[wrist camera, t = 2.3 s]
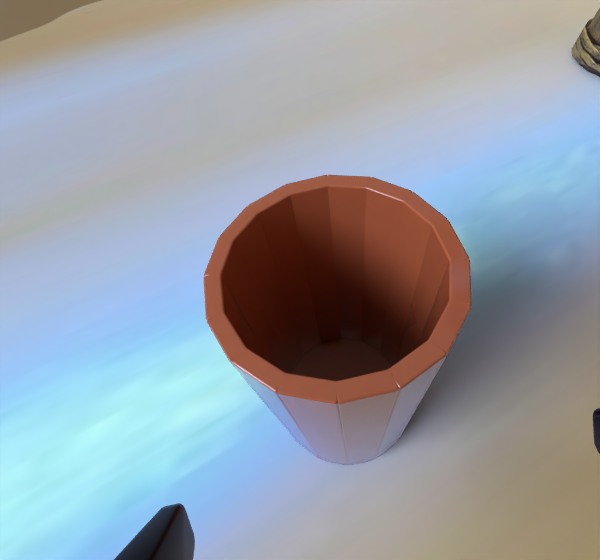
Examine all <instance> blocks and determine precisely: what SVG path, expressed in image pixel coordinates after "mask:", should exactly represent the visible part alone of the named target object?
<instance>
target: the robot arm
mask: <svg viewBox="0 0 600 560" xmlns="http://www.w3.org/2000/svg"><path fill="white" fill-rule="evenodd" d="M593 428H594V443H595V446H596V448H597V451H598V452H599V454H600V408H599V409H596V410H595V411H594V413H593ZM194 546H195V540H194V533H193V530H192V527H191V524H190V522H189V519H188V516H187V513H186V510H185V508H184V506H183V505H182V504H180V503H178V504H173V505H169V506H165V507H163V508H161V509H160V510H159V511H158V512H157V513H156V515H155V516H154V517H153V518H152V519H151V520H150V521H149V522H148V523H147V524H146V525H145V527H144V528H143V529H142V530H141V531H140V532H139V533H138V534H137V535H136V536H135V537H134V538H133V540H132V541H131V542H130V543H129V544H128V545H127V546H126V547H125V548H124V549H123V550H122V551H121V553H120V554H119V555H118V556H117V557H116V558H115V559H114V560H193V555H194Z"/></svg>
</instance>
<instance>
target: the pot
mask: <svg viewBox="0 0 600 560" xmlns="http://www.w3.org/2000/svg"><path fill="white" fill-rule="evenodd" d="M204 294H205V311H206V320H207V323H208V325H209V327H210V328H211V330H212V332H213V334H214V335H215V337H216V339H217V341H218V342H219V344H220V346H221V347H222V349H223V351H224V353H225V354H226V356H227V358H228V360H229V361H230V362H231V364H232V365H233V366H234V367H235V368H236V370H237V371H238V372H239V373H240V374H241V376H242V377H243V378H244V379H245V380H246V382H247V383H248V384H249V385H250V386H251V388H252V389H253V390H254V391H255V392H256V394H257V395H258V396H259V397H260V398H261V399H262V401H263V402H264V403H265V404H266V405H267V407H268V408H269V409H270V410H271V411H272V413H273V414H274V415H275V416H276V417H277V419H278V420H279V421H280V422H281V423H282V425H283V426H284V427H285V428H286V429H287V431H288V432H289V433H290V434H291V435H292V437H293V438H294V439H295V440H296V441H297V442H298V443H299V444H300V445H302V446H303V447H304V448H305V449H306V450H307V451H309V452H310V453H312V454H313V455H315V456H316V457H318V458H320V459H323V460H325V461H328V462H332V463H336V464H343V465H353V464H359V463H364V462H367V461H370V460H372V459H374V458H376V457H378V456H380V455H381V454H383V453H384V452H386V451H387V450H388V449H389V448H390V447H391V446H392V445H393V444H394V443H396V442H397V440H398V439H399V438H400V436H401V434H402V433H403V431H404V429H405V427H406V426H407V424H408V422H409V421H410V419H411V417H412V415H413V414H414V412H415V410H416V408H417V407H418V405H419V403H420V402H421V400H422V398H423V396H424V395H425V393H426V391H427V389H428V388H429V386H430V384H431V383H432V381H433V379H434V377H435V376H436V374H437V372H438V371H439V369H440V367H441V365H442V364H443V362H444V360H445V358H446V357H447V355H448V353H449V351H450V349H451V347H452V345H453V343H454V341H455V339H456V337H457V335H458V333H459V331H460V329H461V327H462V325H463V323H464V321H465V319H466V317H467V315H468V313H469V311H470V309H471V276H470V260H469V257H468V255H467V253H466V251H465V249H464V247H463V246H462V244H461V242H460V240H459V238H458V236H457V235H456V233H455V231H454V229H453V227H452V226H451V224H450V222H449V220H447V218H446V217H445V216H443V215H442V214H441V213H440V212H438V211H437V210H436V209H435V208H433V207H432V206H431V205H429V204H428V203H427V202H426V201H424V200H423V199H422V198H421V197H419V196H418V195H417V194H416V193H414V192H412V191H411V190H408V189H405V188H402V187H399V186H396V185H393V184H391V183H388V182H385V181H382V180H379V179H376V178H373V177H364V176H342V175H328V176H327V175H324V176H319V177H315V178H311V179H306V180H302V181H298V182H294V183H289V184H286V185H285V186H281V187H280V188H278V189H276V190H274V191H273V192H271V193H269V194H267V195H266V196H264V197H262V198H260V199H258V200H257V201H255V202H253V203H251V204H250V205H248V207H246V208H245V209H244V210H243V211H242V212H241V213H240V214H239V215H238V216H237V218H236V219H235V220H234V221H233V222H232V223H231V224H230V225H229V226H228V227H227V228H226V230H225V231H224V232H223V233H222V234H221V235H220V237H219V238H218V240H217V243H216V245H215V248H214V251H213V253H212V256H211V258H210V261H209V263H208V266H207V269H206V271H205V274H204Z"/></svg>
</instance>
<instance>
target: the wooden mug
mask: <svg viewBox="0 0 600 560" xmlns="http://www.w3.org/2000/svg"><path fill="white" fill-rule="evenodd" d="M572 56H573V57H574V58H575V59H576V60H577V61H578V63H579V64H580V65H581V66H582V67H583V68H585V69H586V70H587V71H589V72H592V73H594V74H596V75H598V76H600V8H599V10H598V12H597V13H596V15H595V17H594V18H592V19H590V20H589V21H588V23H587V24H586V26H585V27H584V29H583V30H582V32H581V34H580V36H579V37H578V39H577V41H576V42H575V44H574V46H573V48H572Z"/></svg>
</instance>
